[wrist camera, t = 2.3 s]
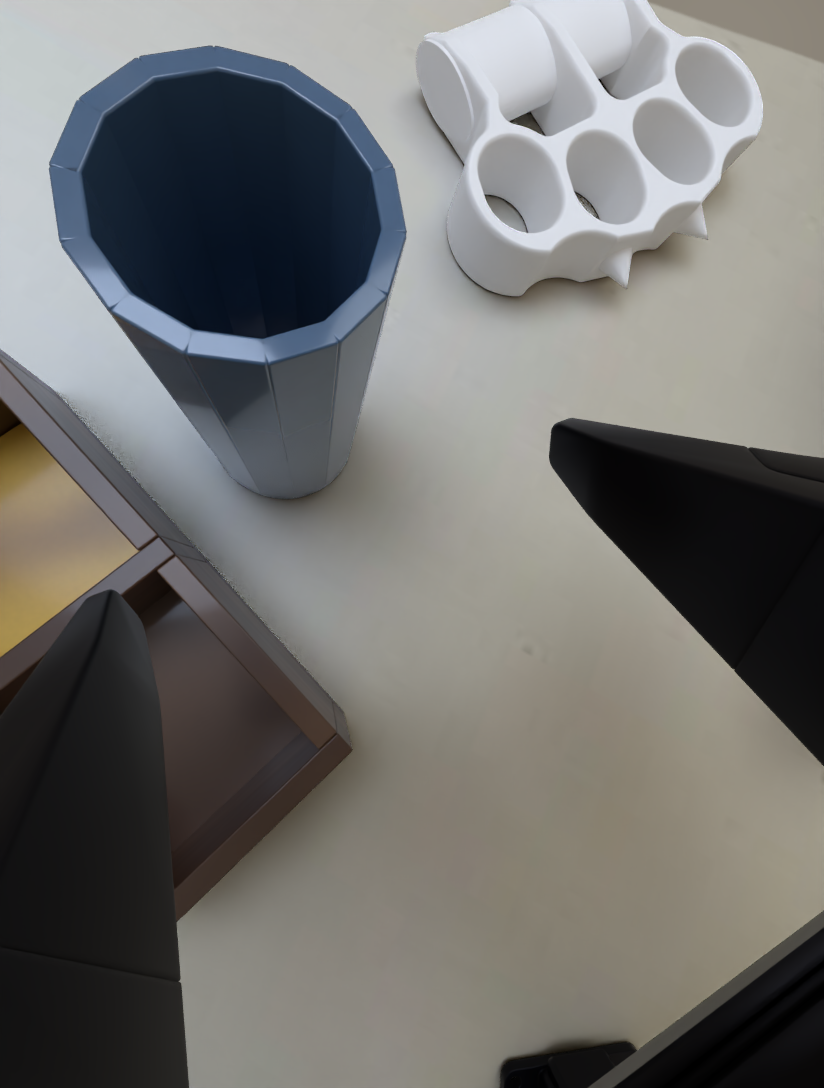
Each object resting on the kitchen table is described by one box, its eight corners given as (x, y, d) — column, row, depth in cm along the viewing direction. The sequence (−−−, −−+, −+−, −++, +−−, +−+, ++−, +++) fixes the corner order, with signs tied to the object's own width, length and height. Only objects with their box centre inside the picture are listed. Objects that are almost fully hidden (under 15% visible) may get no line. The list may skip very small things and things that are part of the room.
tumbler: (349, 504, 22) (400, 381, 9) (205, 493, 20) (25, 334, 8) (356, 376, 22) (413, 92, 9) (217, 359, 21) (67, 7, 8)
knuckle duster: (617, -1, 27) (754, 218, 28) (356, 110, 23) (520, 362, 24) (659, -81, 24) (812, 168, 25) (363, 33, 20) (552, 326, 21)
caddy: (344, 712, 21) (353, 750, 16) (161, 886, 19) (106, 991, 14) (54, 389, 20) (-33, 323, 15) (-174, 538, 18) (-361, 518, 13)
